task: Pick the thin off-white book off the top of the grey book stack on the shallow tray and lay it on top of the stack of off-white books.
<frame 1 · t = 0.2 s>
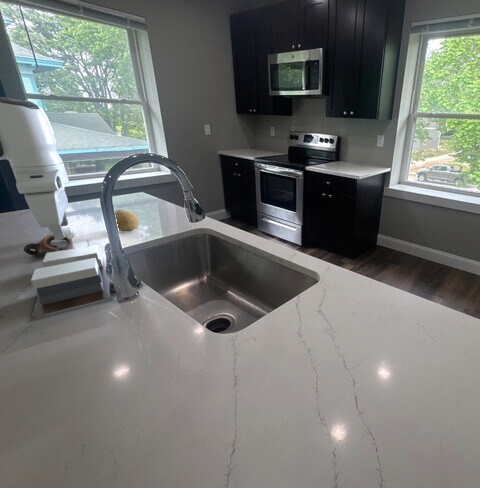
hand: (62, 231, 74), 20 cm above the worktop, tool pointing down, fingers open, 8 cm apart
cylindrical container: (61, 239, 115), on the worktop
pottery mug: (52, 256, 102), on the worktop
white stack: (77, 266, 94), point 1 cm above the worktop, touching shallow tray
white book: (68, 276, 80), point 6 cm above the worktop, touching grey stack
grey stack: (74, 291, 82), point 1 cm above the worktop, touching shallow tray, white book
potato: (128, 230, 125), on the worktop
shallow tray: (77, 282, 89), on the worktop
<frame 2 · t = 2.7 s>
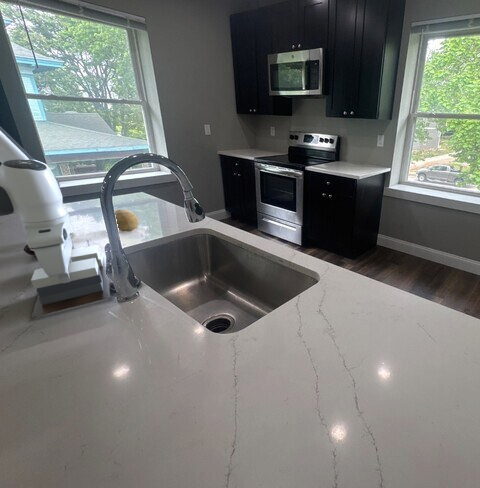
hand: (68, 274, 80), 7 cm above the worktop, tool pointing down, fingers closed on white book, 6 cm apart
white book: (68, 276, 80), point 6 cm above the worktop, touching grey stack, gripper
everything else where it was.
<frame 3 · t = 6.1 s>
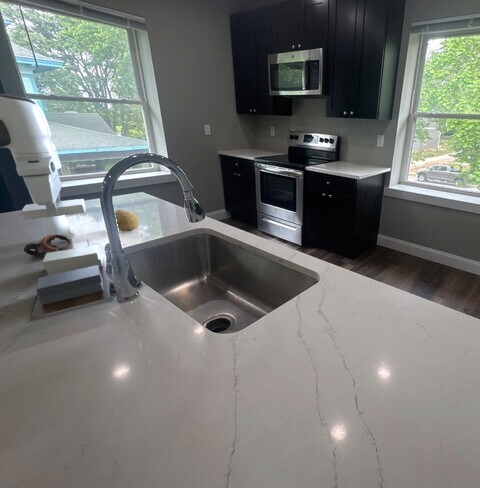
hand: (56, 211, 85), 20 cm above the worktop, tool pointing down, fingers closed on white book, 6 cm apart
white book: (57, 212, 86), point 20 cm above the worktop, touching gripper
grey stack: (74, 291, 82), point 1 cm above the worktop, touching shallow tray
everything else where it was.
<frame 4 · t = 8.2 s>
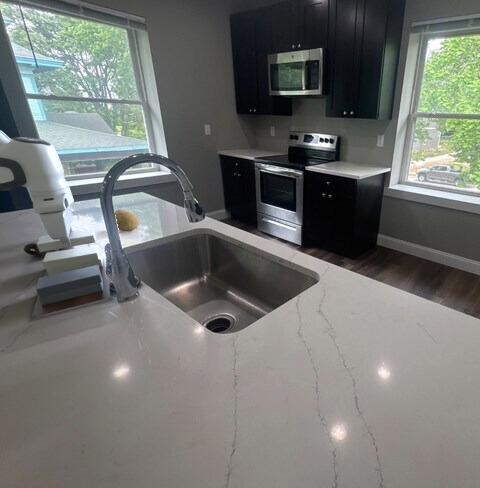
hand: (69, 241, 90), 10 cm above the worktop, tool pointing down, fingers closed on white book, 6 cm apart
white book: (69, 243, 91), point 10 cm above the worktop, touching gripper
everything else where it was.
when the fingers open (7 cm above the worktop, at t = 9.7 s): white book stays where it is, resting on white stack.
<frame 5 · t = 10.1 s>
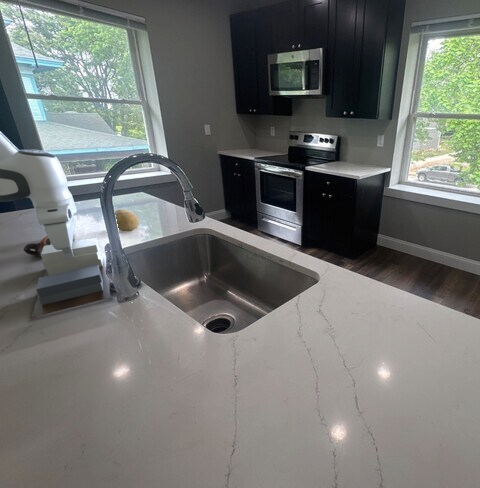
hand: (71, 251, 92), 7 cm above the worktop, tool pointing down, fingers open, 8 cm apart
white stack: (77, 266, 94), point 1 cm above the worktop, touching shallow tray, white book
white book: (72, 252, 92), point 6 cm above the worktop, touching white stack
everything else where it was.
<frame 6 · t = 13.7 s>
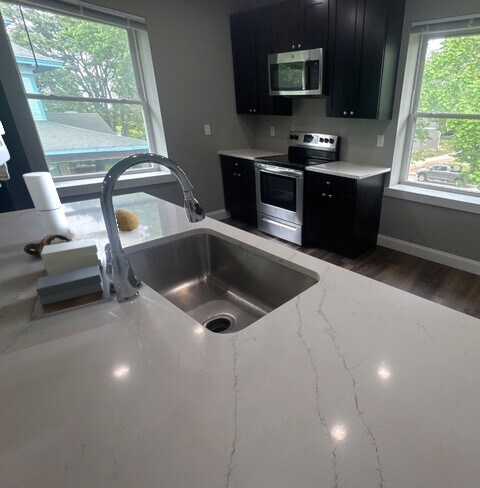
hand: (1, 183, 78), 29 cm above the worktop, tool pointing down, fingers open, 8 cm apart
nothing on the worktop moved.
at the end: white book 0.1 cm off-centre on the white stack, point 5.0 cm above the white stack's base; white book tilted 0°; the gripper is holding nothing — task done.
